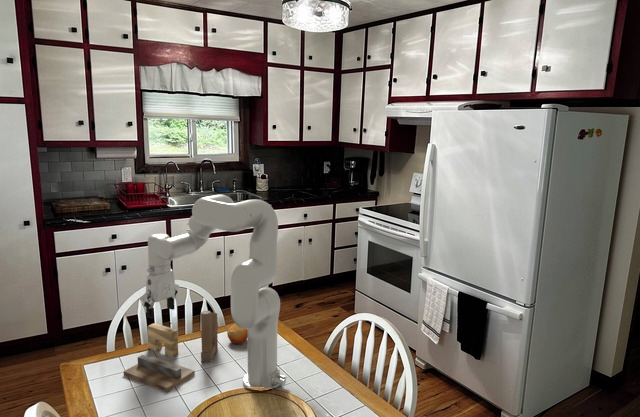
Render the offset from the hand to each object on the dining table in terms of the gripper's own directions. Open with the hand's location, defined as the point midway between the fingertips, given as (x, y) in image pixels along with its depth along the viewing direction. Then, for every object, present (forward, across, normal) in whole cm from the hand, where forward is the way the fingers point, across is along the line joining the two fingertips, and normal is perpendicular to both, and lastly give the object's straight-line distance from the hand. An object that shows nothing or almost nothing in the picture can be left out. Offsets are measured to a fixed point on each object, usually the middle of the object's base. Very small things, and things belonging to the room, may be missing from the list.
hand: (160, 313), depth 169 cm
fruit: (+14, +20, -20) cm, 32 cm away
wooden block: (+14, +6, -18) cm, 24 cm away
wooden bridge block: (+15, 0, -1) cm, 15 cm away
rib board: (+14, -13, -13) cm, 23 cm away
